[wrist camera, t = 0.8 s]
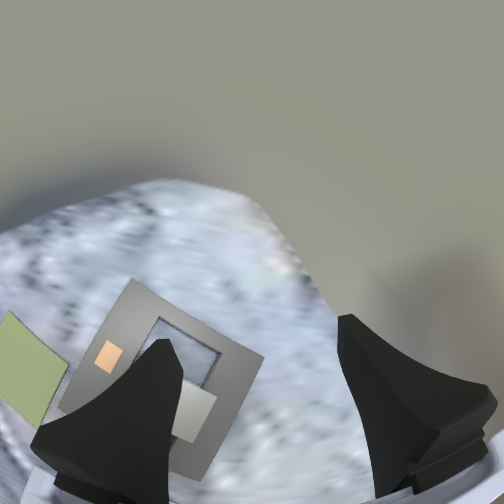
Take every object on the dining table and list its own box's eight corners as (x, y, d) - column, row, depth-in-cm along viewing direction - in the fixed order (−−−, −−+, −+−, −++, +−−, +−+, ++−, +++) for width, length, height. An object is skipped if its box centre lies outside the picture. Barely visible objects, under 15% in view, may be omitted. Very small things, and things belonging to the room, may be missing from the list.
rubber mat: (39, 428, 14) (37, 429, 14) (-19, 373, 13) (-21, 373, 12) (69, 364, 18) (68, 364, 18) (10, 310, 17) (8, 309, 16)
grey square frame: (197, 476, 18) (201, 483, 17) (61, 404, 16) (56, 408, 15) (259, 357, 25) (266, 357, 24) (132, 281, 23) (131, 276, 22)
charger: (176, 416, 20) (192, 443, 13) (126, 389, 19) (119, 406, 13) (194, 383, 22) (217, 397, 15) (145, 356, 21) (145, 358, 14)
